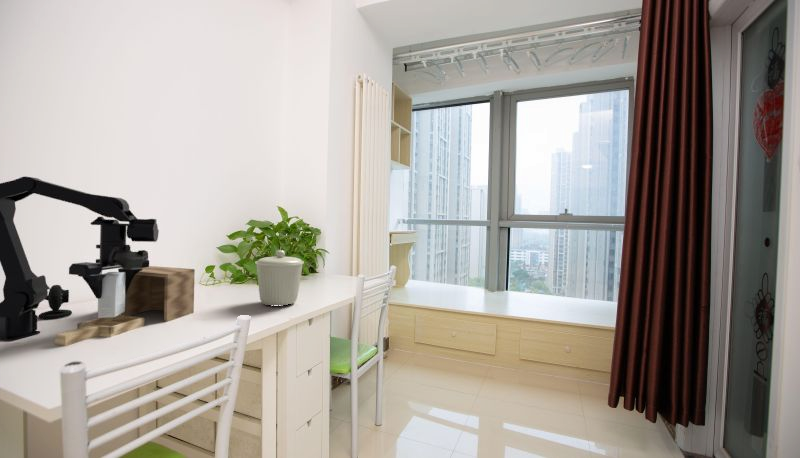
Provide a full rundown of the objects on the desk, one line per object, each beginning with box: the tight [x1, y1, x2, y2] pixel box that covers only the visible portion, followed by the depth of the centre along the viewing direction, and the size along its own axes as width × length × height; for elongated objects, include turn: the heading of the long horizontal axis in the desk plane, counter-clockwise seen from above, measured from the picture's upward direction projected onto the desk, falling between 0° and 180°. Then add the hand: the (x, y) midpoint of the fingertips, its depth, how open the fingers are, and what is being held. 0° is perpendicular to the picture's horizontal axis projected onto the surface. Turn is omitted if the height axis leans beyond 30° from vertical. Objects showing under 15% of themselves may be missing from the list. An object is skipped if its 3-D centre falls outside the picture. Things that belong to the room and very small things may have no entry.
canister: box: [254, 249, 305, 306], centre depth 134 cm, size 18×18×21 cm
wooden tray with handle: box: [55, 314, 145, 347], centre depth 95 cm, size 18×11×3 cm, turn 170°
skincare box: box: [97, 271, 126, 319], centre depth 99 cm, size 6×4×12 cm
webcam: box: [37, 284, 73, 321], centre depth 108 cm, size 8×8×10 cm
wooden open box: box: [120, 265, 196, 323], centre depth 114 cm, size 11×17×15 cm, turn 80°
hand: (111, 295), depth 99 cm, fingers closed on skincare box, 7 cm apart
